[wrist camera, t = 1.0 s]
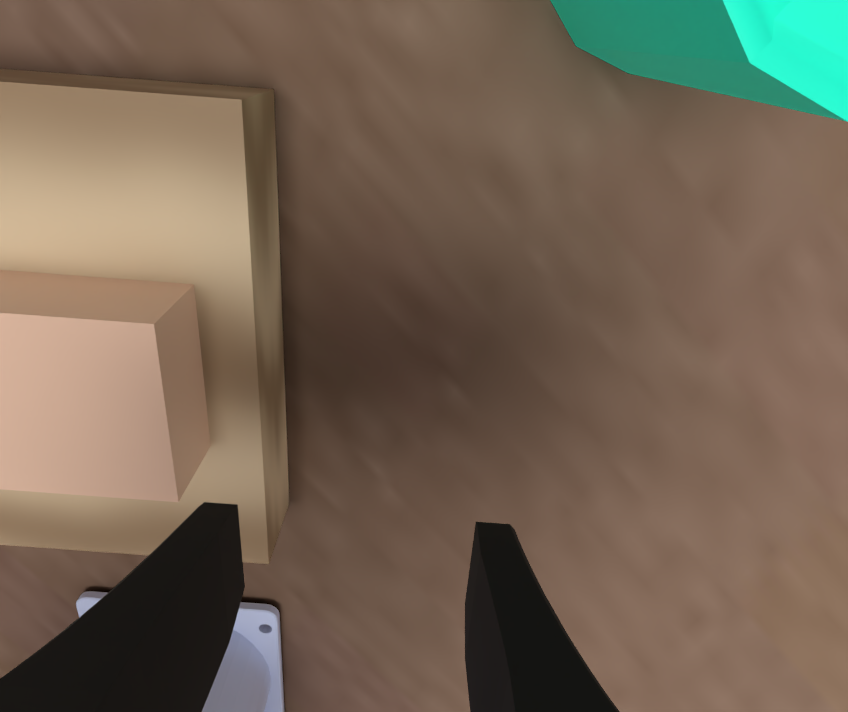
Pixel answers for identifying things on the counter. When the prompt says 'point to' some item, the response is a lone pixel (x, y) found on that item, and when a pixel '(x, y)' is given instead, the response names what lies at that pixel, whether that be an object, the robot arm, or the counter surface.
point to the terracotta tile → (100, 386)
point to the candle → (725, 46)
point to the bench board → (158, 274)
